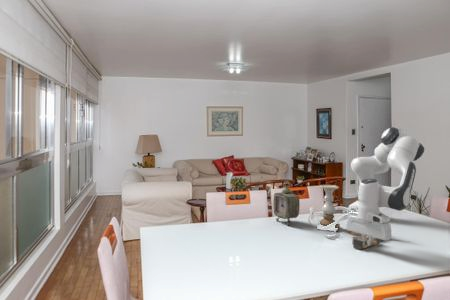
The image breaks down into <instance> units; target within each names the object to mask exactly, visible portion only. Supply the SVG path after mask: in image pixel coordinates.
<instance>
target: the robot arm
mask: <svg viewBox="0 0 450 300" xmlns="http://www.w3.org/2000/svg"><path fill="white" fill-rule="evenodd" d="M380 141H381V143H380V144H378V145H377V147H375V149H374V152H373V153H374V155H372V156H358V157H355V158H353V159H352V160H351V162H350V169H351V170H352V172H353V173H355V175H356V177H357V179H358V182H359V186H358V192H357V195H356V196H355V198H356V201H354V202H352V203H350V204H349V205H348V207H347V210H348V209H351V210H353V211H354V212H353V211H351V212H349V213H348V216H347V219H346V225H345V228H346V230H347V231H352V232H356V233H360V234H362V238H363V240H364V244H365V245H368V246H369V247H371V246H370V245H371V241H372V239H373V237H374V238H378V239H382V241H388V240H390V239H392V227H391V223H390V221H391V217H390V216H388V215H387V214H385V213H383V212H382V211H380V207H383V208H387V209H392V210H395V211H399V212H400V211H403V210H405V209H406V208H408V207H409V205H410V200H411V193H412V189H413V184H414V182H415V177H416V173H417V168H416V165H415V163H414V162H416V161H417V160H419V159H420V158H421V157H422V156H423V154H424V153H425V147H424V146H423V144H422V143H421V142H418V140H417V139H416V138H414V137H413V136H411V135H408V134H407V133H405V132H403V131H402V130H399V128H396V127H392V126H391V127H388V128H387V129H386V130H384V131H383V133H382V134H381V137H380ZM390 169H392V170H393V171H394V172H397V173H398V174H400V175H401V179H400V182H399V185H398V186H388V185H382V184H380V183H379V180H378V179H375V178H374V175H380V174H381V175H382V174H383V173H387V172H388V171H389V170H390ZM388 222H389V223H388ZM366 236H368V238H369V240H367V238H366Z"/></svg>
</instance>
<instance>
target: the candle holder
mask: <svg viewBox="0 0 450 300" xmlns="http://www.w3.org/2000/svg"><path fill="white" fill-rule="evenodd" d="M319 188H320V189H323V191H324V192H325V195H324V197H323V198H324V200H325V202H324V204H323V205H322V207H321V211H322V213H323V214H322V217H323V218H322V219H321V220H319V222H320V224H321V225H323V226H327V225H329V224H331V223H333V222H335V221H336V220H335V219H334V218H335V215H334V214H335V213H336V207H335V205H334V204H333V199H335V197H334V195H333V193H334V192H335V190H338V189H339V188H340V187H339V186H338V185H335V184H319ZM339 227H341V226H340V223H338V224H336V225H335V228H339ZM339 229H340V228H339Z"/></svg>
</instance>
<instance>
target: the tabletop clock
mask: <svg viewBox="0 0 450 300" xmlns="http://www.w3.org/2000/svg"><path fill="white" fill-rule="evenodd" d="M285 183H288V184H289V186H288V185H285ZM282 186H283V187H284V188H283V189H282V191H281V192H274V195H273V213H274V215H275V216H276V217H277V218H276V219H275V221H277V222H279V221H280V220H279V219H283V220H287V223H286V226H290V223H291V219H297V217H298V216H299V214H300V197H299V196H298V195H296V193H293V192H292V191H291V189H290V188H291V183H290V181H288V180H284V181H283V182H282Z"/></svg>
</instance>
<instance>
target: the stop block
mask: <svg viewBox="0 0 450 300" xmlns="http://www.w3.org/2000/svg"><path fill="white" fill-rule="evenodd" d="M361 237H362V236H352V244H351V245H352V246H353V242H354V239H358V238H361Z"/></svg>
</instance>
